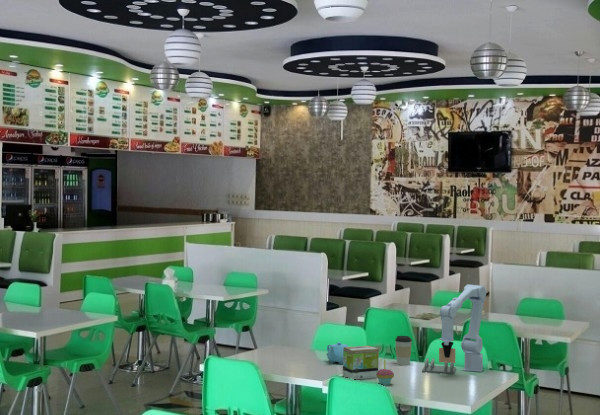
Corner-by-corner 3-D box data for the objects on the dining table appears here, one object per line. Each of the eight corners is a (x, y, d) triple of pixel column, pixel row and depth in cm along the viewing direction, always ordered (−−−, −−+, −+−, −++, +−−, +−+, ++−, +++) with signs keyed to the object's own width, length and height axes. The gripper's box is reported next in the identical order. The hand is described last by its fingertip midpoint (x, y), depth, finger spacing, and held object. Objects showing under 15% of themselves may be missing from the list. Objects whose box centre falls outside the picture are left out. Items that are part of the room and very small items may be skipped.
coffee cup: (411, 362, 422) (411, 334, 422) (412, 365, 413) (412, 337, 413) (394, 361, 422) (394, 334, 422) (394, 365, 413) (395, 337, 413)
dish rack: (455, 368, 406) (455, 359, 406) (453, 374, 393) (454, 364, 393) (424, 366, 411) (425, 357, 411) (422, 372, 397) (422, 362, 397)
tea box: (352, 380, 376) (353, 350, 376) (342, 376, 385) (342, 346, 385) (378, 378, 383) (379, 348, 383) (367, 373, 392) (368, 344, 392)
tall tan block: (455, 362, 389) (455, 348, 389) (455, 363, 388) (455, 349, 388) (439, 361, 391) (439, 347, 391) (438, 362, 390) (439, 348, 390)
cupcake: (374, 382, 374) (375, 357, 374) (392, 382, 374) (392, 357, 374) (377, 386, 365) (378, 360, 365) (395, 386, 366) (396, 360, 366)
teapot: (348, 361, 426) (348, 340, 427) (353, 365, 412) (353, 343, 413) (325, 361, 424) (325, 340, 425) (330, 365, 410) (330, 344, 411)
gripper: (440, 327, 398) (440, 353, 398) (438, 331, 384) (437, 359, 384) (454, 328, 396) (454, 354, 396) (452, 332, 382) (452, 360, 382)
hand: (447, 357), depth 390 cm, fingers closed on tall tan block, 2 cm apart
